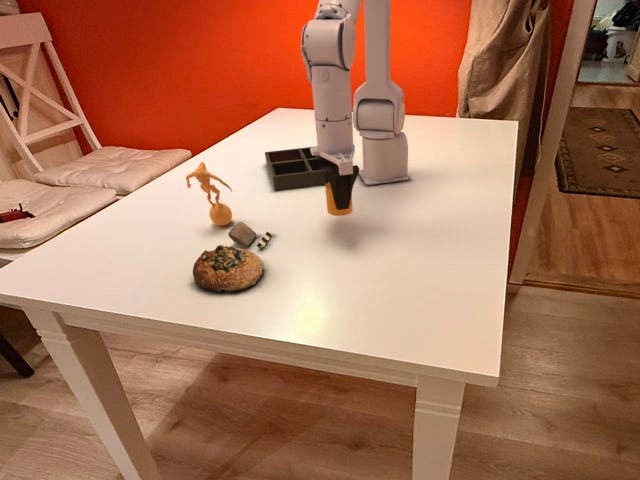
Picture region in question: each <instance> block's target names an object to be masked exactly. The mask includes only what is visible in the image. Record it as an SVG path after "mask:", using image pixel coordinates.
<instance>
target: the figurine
mask: <svg viewBox="0 0 640 480" xmlns="http://www.w3.org/2000/svg"><path fill="white" fill-rule="evenodd" d="M194 177H195V179H196V180H197V181H198V183H200V185H199V187H200V189H201V190H202V191H203V192H204V193H206V194H207V196H206V198H207V201H208V203H209V204H210V206H211V207H210V209H209V212H208V215H209V218H210V220H211V222H212V223H214V224H215V225H217V226H220V227H222V226H223V227H224V226H227V225H228V224H230V223H231V221H232V218H233V212H232V210H231V208H230V207H229V206H228V205H227V204H226V203H222V202H219V200H220V194H221V191H220V190H219V189H218V188H217V187H216V185H215V184H211V179H212V180H215V181H218V182H219V183H220V184H222V185H223V186H225V187H226V188H228V189H229V190H230V192H233V190H232V188H231V187H230V185H229V184H227V183H226V182H225V181H223V180H222V178H220V177H218V176H217V175H214V174H213V173H211V172H209V171H208V170H207V166H206V164H205V162H203V161H200V163H199V164H198V166H197V168H196V169H195V170H193V171H192V172H191V173H189V174H187V175H186V176H185V180H186V186H187V189H191V188H192V183H191V182H190V179H192V178H194ZM211 193H214V194H215V197H214V199H215V202H213V201H212V195H211Z"/></svg>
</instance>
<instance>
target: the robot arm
mask: <svg viewBox="0 0 640 480" xmlns="http://www.w3.org/2000/svg"><path fill="white" fill-rule="evenodd" d="M362 2H363V6H364V7H363V8H364V9H363V10H364V11H363V13H364V15H363V16H364V57H365V81H364V82H363V83H362V84H361V85H360V86H358V88H357V89H356V90H355V91H354V95H353V103H352V83H351V81H352V79H351V68H353V65H354V62H355V57H356V43H357V42H356V41H357V31H356V26H357V20H358V18H359V13H360V10H361V6H362ZM317 3H318V4H317V6H316V10H315V14H314V18H313V19H309V21H308V23H305V24H304V26H303V27H302V31H301V36H300V37H301V38H300V39H301V40H300V45H301V46H300V51H301V57H302V61H303V63H304V66H305V69H306V77H307V80H308V83H310V84H311V92H312V101H313V111H314V123H315V133H316V144H317V145H316V146H317V147H315V146H311V147H312V148H310V151H311V154H312V155H314V156H315V155H316V156H315V157H316V159H317V161H318V162H319V164H320V166H321V168H322V171H323V174H324V177H325V180H326V184H327V183H328V182H329V183H330V186H331V190H332V194H333V199H334V203H335V206H336V208H337V210H342V209H349V206H350V201H351V195H352V196H353V189H354V185H355V183H356V180H357V178H358V176H360V179H362V180H363V182H364V184H365V185H367V186H372V185H379V184H380V185H381V184H387V183H395V182H401V181H408V180H409V177H408V170H409V169H408V167H409V142H408V138H407V135H406V133H405V132H404V131H403V130H404V125H405V120H406V119H405V118H406V106H405V94H404V90H403V89H402V88H401V87H400V86H398V84H397V83H395V82H394V81H393V80H392V79H391V27H392V26H391V25H392V23H391V19H392V17H391V16H392V15H391V14H392V13H391V11H392V0H318V2H317ZM352 104H353V105H352ZM353 127H354V129H355V131H356V132H358V133H359V134H358V135H359V137H361V143H362V144H361V149H362V169H361V170H360V167H359V165H357V164H355V165H353V158H354V155H355V152H356V146H355V144H354V129H353Z"/></svg>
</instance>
